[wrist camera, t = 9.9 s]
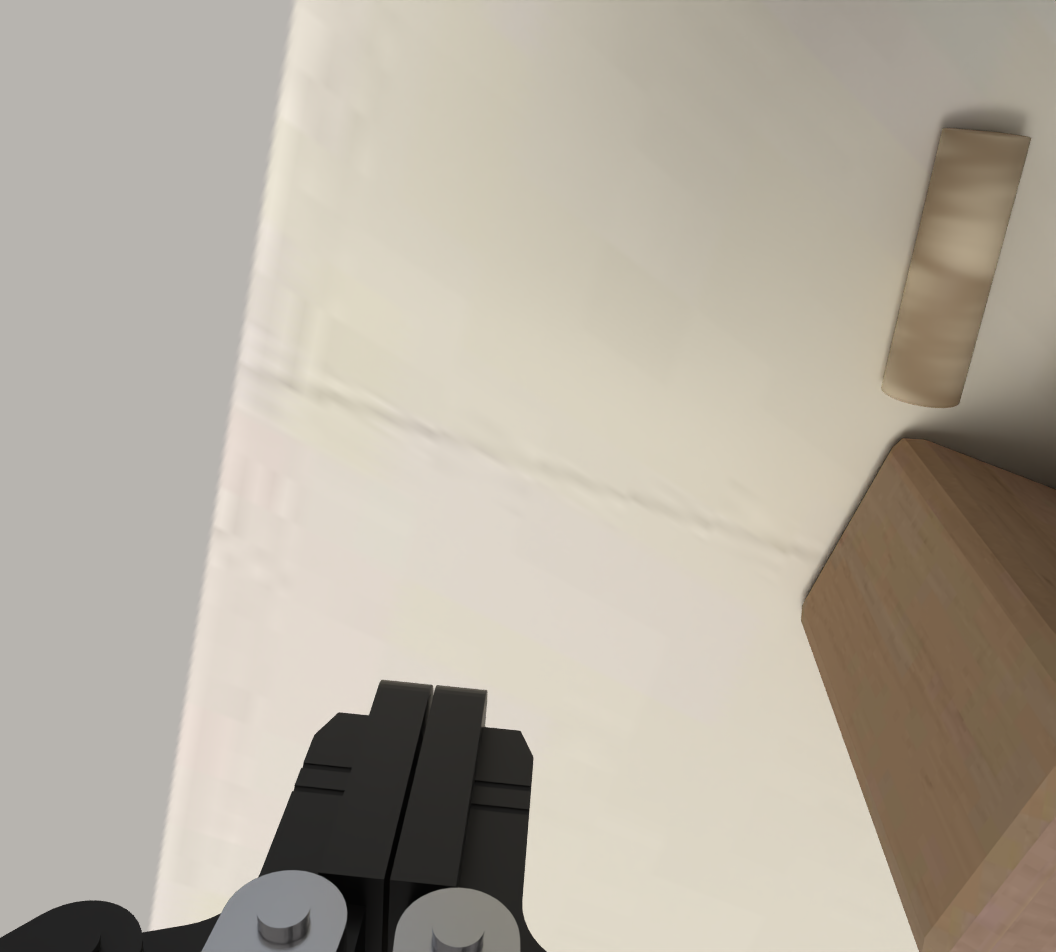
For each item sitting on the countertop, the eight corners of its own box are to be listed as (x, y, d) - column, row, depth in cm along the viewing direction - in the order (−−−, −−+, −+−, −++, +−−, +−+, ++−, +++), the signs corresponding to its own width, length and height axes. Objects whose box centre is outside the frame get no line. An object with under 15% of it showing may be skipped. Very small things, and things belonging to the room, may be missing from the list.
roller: (1043, 138, 36) (962, 127, 38) (1013, 139, 34) (928, 128, 36) (971, 398, 40) (901, 377, 42) (940, 413, 38) (868, 390, 40)
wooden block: (1106, 502, 43) (1483, 849, 25) (982, 681, 47) (1230, 1093, 29) (895, 422, 42) (1127, 720, 24) (788, 611, 46) (917, 991, 28)
